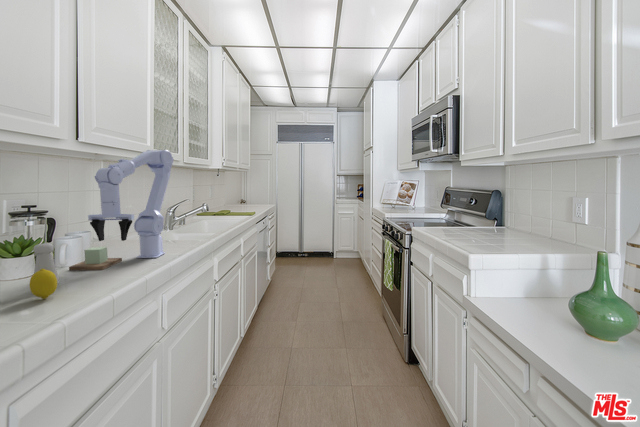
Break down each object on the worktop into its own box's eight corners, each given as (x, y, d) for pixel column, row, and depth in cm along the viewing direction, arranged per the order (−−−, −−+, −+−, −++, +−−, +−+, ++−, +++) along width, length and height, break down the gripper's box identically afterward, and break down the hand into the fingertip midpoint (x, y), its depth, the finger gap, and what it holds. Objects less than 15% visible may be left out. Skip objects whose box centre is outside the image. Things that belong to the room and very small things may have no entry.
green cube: (93, 260, 124) (92, 247, 124) (107, 260, 125) (106, 247, 124) (85, 263, 119) (84, 250, 119) (100, 263, 120) (99, 249, 119)
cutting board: (91, 261, 128) (91, 258, 128) (121, 260, 129) (121, 257, 129) (69, 270, 115) (69, 266, 115) (102, 269, 116) (102, 266, 116)
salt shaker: (38, 294, 90) (34, 246, 89) (29, 290, 94) (25, 244, 92) (63, 288, 95) (60, 243, 94) (54, 285, 98) (51, 241, 97)
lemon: (46, 302, 84) (44, 271, 83) (24, 302, 84) (22, 271, 83) (63, 295, 90) (61, 266, 89) (43, 295, 90) (41, 265, 89)
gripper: (81, 203, 114) (84, 242, 115) (126, 202, 115) (128, 242, 116) (94, 201, 121) (96, 239, 122) (135, 201, 122) (137, 238, 123)
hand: (112, 240), depth 120 cm, fingers open, 7 cm apart
